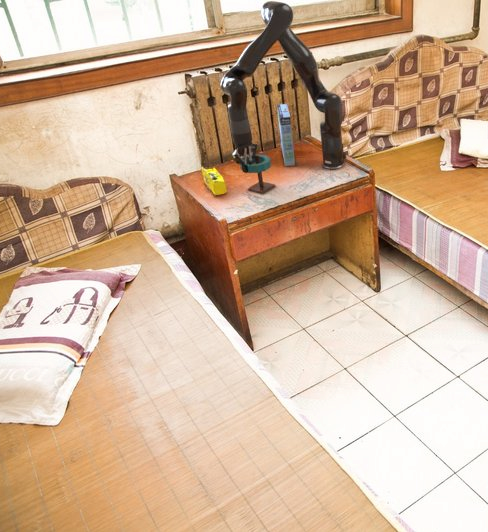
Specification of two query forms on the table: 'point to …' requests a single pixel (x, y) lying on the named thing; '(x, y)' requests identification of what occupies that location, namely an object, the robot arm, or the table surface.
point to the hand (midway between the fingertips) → (247, 171)
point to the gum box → (286, 134)
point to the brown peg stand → (260, 182)
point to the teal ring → (259, 165)
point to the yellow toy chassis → (214, 181)
